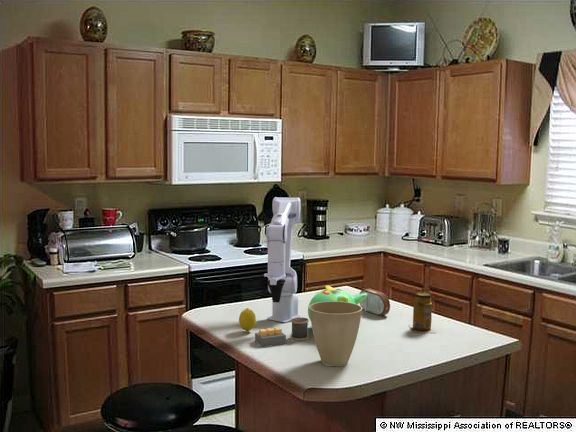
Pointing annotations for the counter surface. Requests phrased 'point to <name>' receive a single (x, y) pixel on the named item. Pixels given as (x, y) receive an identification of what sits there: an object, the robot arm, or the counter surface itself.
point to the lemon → (247, 320)
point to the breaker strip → (270, 337)
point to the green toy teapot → (335, 297)
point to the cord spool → (299, 328)
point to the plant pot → (335, 330)
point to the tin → (375, 302)
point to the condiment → (422, 313)
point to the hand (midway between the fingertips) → (276, 301)
